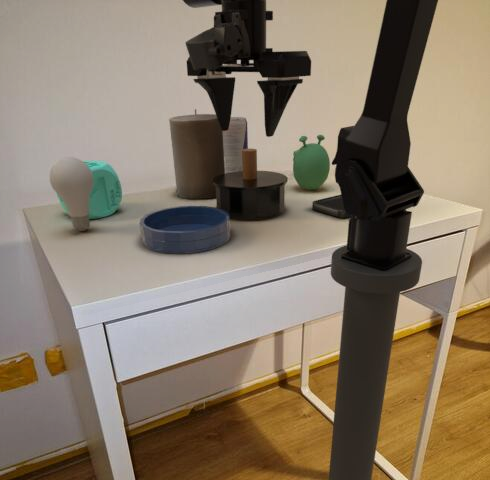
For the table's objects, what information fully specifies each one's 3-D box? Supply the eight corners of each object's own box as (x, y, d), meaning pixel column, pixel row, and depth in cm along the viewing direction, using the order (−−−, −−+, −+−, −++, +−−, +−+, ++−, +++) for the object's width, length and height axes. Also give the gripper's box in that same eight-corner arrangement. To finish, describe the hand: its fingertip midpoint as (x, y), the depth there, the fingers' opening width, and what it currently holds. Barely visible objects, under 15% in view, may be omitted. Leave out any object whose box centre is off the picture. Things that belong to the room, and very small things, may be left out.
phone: (309, 201, 79) (370, 187, 86) (309, 208, 79) (369, 193, 87) (343, 212, 73) (405, 195, 81) (342, 219, 74) (404, 202, 81)
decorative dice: (85, 222, 77) (74, 172, 73) (60, 214, 81) (49, 166, 77) (125, 211, 82) (118, 164, 78) (100, 204, 86) (92, 158, 82)
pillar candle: (235, 193, 90) (232, 108, 82) (191, 202, 85) (183, 113, 78) (210, 184, 97) (204, 105, 89) (167, 192, 92) (158, 109, 85)
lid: (302, 184, 77) (303, 148, 74) (249, 199, 70) (248, 160, 67) (250, 173, 85) (250, 141, 82) (197, 186, 78) (195, 151, 75)
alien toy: (311, 182, 96) (313, 130, 91) (335, 189, 90) (339, 134, 85) (283, 187, 93) (283, 134, 88) (307, 195, 87) (309, 138, 82)
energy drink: (251, 176, 103) (250, 117, 97) (243, 181, 98) (242, 120, 92) (229, 175, 104) (226, 116, 98) (220, 180, 100) (217, 119, 94)
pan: (248, 236, 68) (247, 216, 67) (177, 261, 61) (175, 239, 59) (194, 219, 76) (192, 201, 75) (126, 239, 69) (122, 219, 67)
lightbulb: (64, 239, 69) (46, 163, 64) (60, 228, 74) (43, 156, 69) (105, 233, 71) (91, 158, 66) (99, 222, 76) (86, 152, 71)
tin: (297, 209, 79) (298, 180, 77) (249, 225, 73) (249, 193, 70) (251, 198, 87) (250, 171, 84) (203, 211, 80) (201, 182, 78)
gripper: (149, 5, 60) (162, 134, 68) (250, -10, 49) (252, 148, 57) (214, 8, 67) (219, 125, 75) (317, -4, 55) (310, 137, 63)
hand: (246, 133), depth 67 cm, fingers open, 9 cm apart
